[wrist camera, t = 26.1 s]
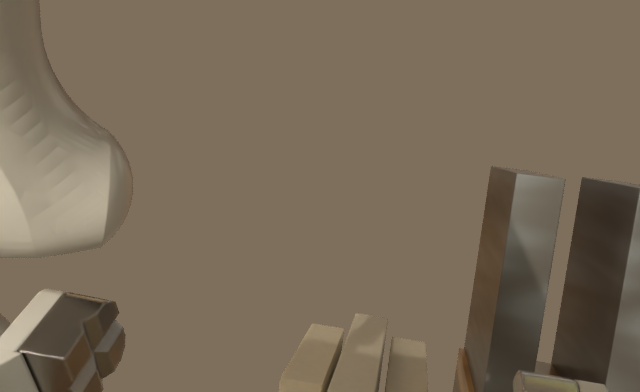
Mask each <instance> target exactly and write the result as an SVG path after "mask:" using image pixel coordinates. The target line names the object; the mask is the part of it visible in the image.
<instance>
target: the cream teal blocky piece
mask: <svg viewBox="0 0 640 392" xmlns="http://www.w3.org/2000/svg"><path fill="white" fill-rule="evenodd" d="M343 334H344V329H343V328H337V327H331V326H325V325H319V324H312V325H311V327H310V329H309V330H308V332H307V333H306V335H305V337H304V339H303V340H302V342H301V344H300V346H299V347H298V349H297V351H296V352H295V354H294V356H293V358H292V359H291V361H290V362H289V364H288V366H287V368H286V369H285V371H284V373H283V374H282V376H281V378H280V386H279V392H327V390H328V388H329V385H330V382H331V379H332V377H333V374H334V371H335V369H336V366H337V363H338V361H339V358H340V355H341V351H342V343H343ZM385 392H428V382H427V363H426V343H425V342H420V341H414V340H408V339H401V338H396V337H392V342H391V349H390V357H389V364H388V372H387V379H386V386H385Z"/></svg>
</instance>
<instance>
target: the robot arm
mask: <svg viewBox="0 0 640 392" xmlns="http://www.w3.org/2000/svg"><path fill="white" fill-rule="evenodd" d="M132 194H133V178H132V173H131V168H130V165H129V161H128V159H127V157H126V154H125V152H124V151H123V149H122V147H121V146H120V144H119V143H118V141H117V140H116V139H115V138H114V136H112V134H111V133H110V132H109V131H108V130H106V129H105V128H103V127H101V126H100V125H99V124H97V123H96V122H94V121H93V120H92V119H91V118H90V117H88V116H87V115H86V114H85V113H84V112H83V111H82V110H81V109H80V108H79V107H78V106H77V105H76V104H75V103H74V102H73V101H72V99H71V98H70V97H69V96H68V95H67V93H66V92H65V90H64V89H63V87H62V86H61V84H60V83H59V81H58V79H57V77H56V75H55V73H54V72H53V70H52V68H51V65H50V63H49V60H48V58H47V55H46V51H45V48H44V44H43V39H42V32H41V22H40V6H39V0H0V258H42V257H49V256H56V255H63V254H69V253H75V252H80V251H86V250H91V249H96V248H100V247H102V246H103V245H104V244H105V243H107V242H108V241H109V240H110V239H111V238H112V237H113V236H114V235H115V233H116V232H117V231H118V230H119V228H120V227H121V225H122V224H123V222H124V220H125V218H126V216H127V214H128V211H129V208H130V205H131V200H132ZM118 314H119V311H118V308H117V305H116V303H115V302H113V301H109V300H104V299H99V298H94V297H90V296H84V295H80V294H74V293H69V292H64V291H59V290H53V289H48V288H46V289H45V290H43V291H40V292H39V293H38V294H37V295H36V296H35V297H34V298H33V300H32V301H31V302H30V303H29V304H28V305H27V307H26V308H25V309H24V310H23V311H22V312H21V313H20V315H19V316H18V317H17V318H16V319H15V320H14V321H13V323H12V324H10V323H9V322H8V321H7V320H6V318H5V317H4V316H2V315H1V314H0V392H102V391H103V384H102V379H103V378H104V377H106V376H107V375H109V374H111V373H112V372H114V371H115V369H116V368H117V366H118V364H119V362H120V361H121V358H122V355H123V351H124V348H125V333H124V329H123V327H122V326H121V325H120V324H119V323H118V322H117V321H116V320H115V319H116V317H117V316H118ZM513 392H608V389H607V388H606V386H605V385H604V384H599V383H593V382H587V381H581V380H574V379H573V378H567V377H560V376H554V375H548V374H541V373H535V372H529V371H522V370H518V371H517V373H516V374H515V377H514V380H513Z"/></svg>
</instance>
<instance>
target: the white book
mask: <svg viewBox="0 0 640 392" xmlns="http://www.w3.org/2000/svg"><path fill="white" fill-rule="evenodd" d="M387 322H388V319H387V318H383V317H377V316H371V315H365V314H359V313H356V315H355V318H354V320H353V323H352V325H351V328H350V331H349V334H348V336H347V339H346V342H345V344H344V347H343V350H342V352H341V355H340V358H339V361H338V363H337V366H336V369H335V371H334V374H333V377H332V379H331V382H330V385H329V388H328V390H327V392H378V390H379V383H380V375H381V367H382V360H383V352H384V345H385V337H386V329H387Z"/></svg>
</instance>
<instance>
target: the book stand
mask: <svg viewBox="0 0 640 392" xmlns="http://www.w3.org/2000/svg"><path fill="white" fill-rule="evenodd" d="M564 186H565V179H563V178H559V177H554V176H550V175H545V174H541V173H536V172H532V171H527V170H518V169H510V168H501V167H493V166H492V167H491V171H490V177H489V184H488V191H487V198H486V204H485V211H484V219H483V225H482V232H481V238H480V245H479V252H478V259H477V266H476V272H475V279H474V286H473V293H472V299H471V306H470V313H469V320H468V328H467V334H466V340H465V347H464V349H461V348H460V349H459V353H458V360H457V366H456V373H455V380H454V387H453V392H513V380H514V377H515V374H516V373H517V371H518V370H522V371H529V372H535V373H541V374H548V375H554V376H560V377H567V378H573V379H574V380H581V381H587V382H593V383H599V384H604V385H605V386H606V388H607V389H608V392H640V185H637V184H631V183H625V182H619V181H610V180H602V179H594V178H585V177H583V178H582V181H581V187H580V193H579V199H578V205H577V211H576V217H575V223H574V229H573V236H572V241H571V247H570V254H569V260H568V265H567V271H566V278H565V284H564V290H563V296H562V302H561V308H560V314H559V320H558V326H557V332H556V339H555V344H554V350H553V357H552V362H551V363H552V364H550V363H544V362H538V361H536V359H537V353H538V347H539V341H540V334H541V328H542V322H543V316H544V310H545V303H546V297H547V291H548V285H549V279H550V273H551V266H552V260H553V254H554V248H555V242H556V236H557V229H558V223H559V217H560V210H561V205H562V198H563V192H564Z"/></svg>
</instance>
